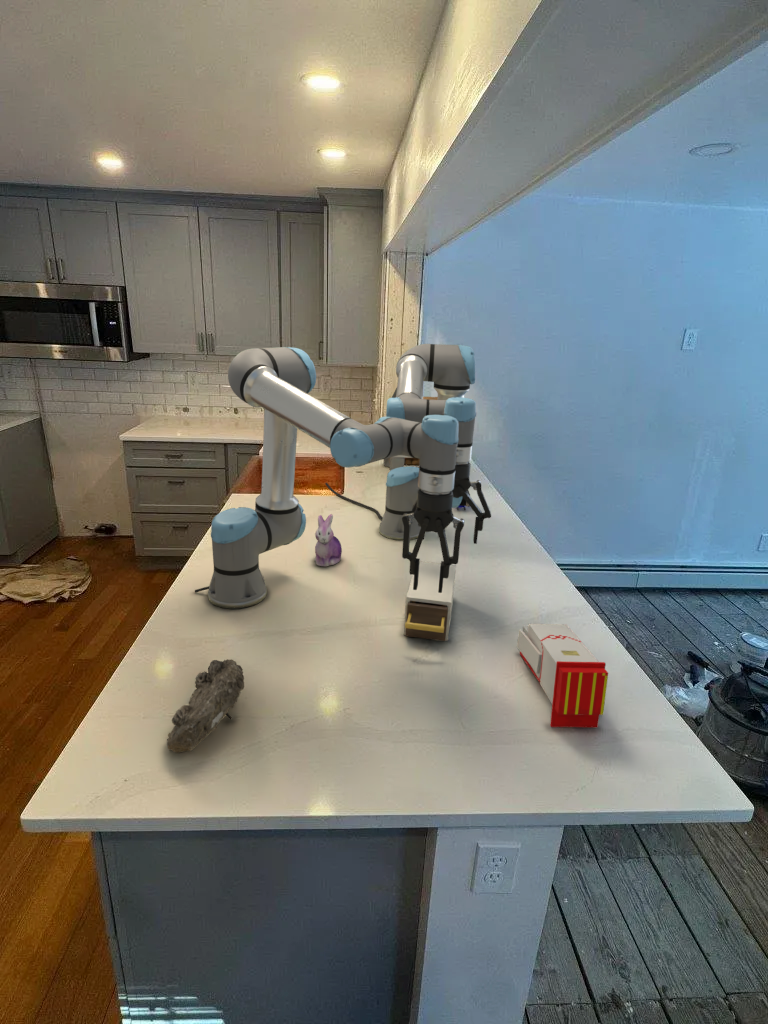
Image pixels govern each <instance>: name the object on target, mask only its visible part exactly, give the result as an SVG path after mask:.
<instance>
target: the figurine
mask: <svg viewBox="0 0 768 1024" xmlns="http://www.w3.org/2000/svg"><path fill="white" fill-rule="evenodd" d="M333 520H334V514H332V513H330V514H329V515H328V516H327V518H326V519H324V517H323V515H322V514H319V515H318V516H317V529H316V531H315V534H314V536H315V537H314V538H315V539H316V543H315V546H314V553H315V558H314V561H315V565H316V566H319V567H320V566H321V567H328V566H334V565H336V564H338V563H340V562H341V559H342V553H343V549H342V544H341V542H340V540H339V538H337V537H336V536H335V535H334V531H333V529H332V523H333Z"/></svg>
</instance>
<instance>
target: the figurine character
mask: <svg viewBox="0 0 768 1024" xmlns="http://www.w3.org/2000/svg"><path fill="white" fill-rule="evenodd" d="M467 492H468V494H469V495H470V496H471V493H470V491H469V489H468V490H467ZM466 507H468V508H471V507H470V506H469V504H468V503H467V502H466V501H465V500H464V498H463V497H462V501H461V503H460V505H459V506H458V507H456V508H455V509H456V510H457V511H459V510H460V509H463V511H465V512H466V511H467V508H466Z"/></svg>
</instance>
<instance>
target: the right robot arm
mask: <svg viewBox="0 0 768 1024" xmlns="http://www.w3.org/2000/svg"><path fill="white" fill-rule="evenodd" d="M395 374H396V378H397V385H396V388H397V392H396V398H392V397H389V398H388V399H387V400H386V411H385V417H398V418H400V419H404V420H409V421H414V422H419V423H422V420H423V418H424V417H425V416H427V415H446V416H451V417H454V418H455V419H457V421H458V424H459V426H458V438H459V442H458V445H457V454H456V463H455V480H454V489H453V490H452V492H453V502H452V509H457V508H456V507H458V506H459V505H460V503H461V501H462V497H463V498H464V500H465V501H466V502H467V503H468V504H469V506H470V507H469V508H470V509H471V510H472V511H473V512H474V514H475V515H476V516H475V517H474V519H475V520H474V528H473V539H472V541H473V544H474V545H477V544H478V534H479V532H482V531H483V530H484V529H483V528H484V521H485V520H486V519H490V518H492V513H491V510H490V507H489V505H488V503H487V500H486V498H485V495H484V493H483V490H482V481H481V480H479V479H477V480H476V481H471V480H470V477H471V467H472V466H471V465H472V464H471V463H470V462H471V461H472V456H473V455H472V454H473V444H474V443H473V440H474V434H475V433H474V431H475V424H476V423H475V422H476V417H477V402H476V401H475V400H474V399H471V398H469V397H465V395H466V394H467V393H468V392H469V391H470V388H471V385H474V384H475V383H476V357H475V351H474V349H473V347H471V346H469V345H463V344H462V345H461V344H443V343H442V344H441V343H439V344H438V343H421V344H418V345H415V346H412V347H411V348H409V349H407V350H406V351H405V352H404V353H402V354H401V356H400V357H399V359H398V360H397V362H396V367H395ZM424 382H429V383H433V389H434V390H435V391H436V393H437V397H438V398H437V400H429V399H423V397H424ZM418 479H419V466H418V467H417V466H407V465H406V466H404V467H399V468H395V469H393V470H391V471H390V470H389V471H388V473H387V475H386V482H385V487H386V488H385V489H386V490H385V504H384V505H385V507H384V508H385V509H384V513H383V515H382V516H381V514H380V512H379V510H377V509H375V508H374V507H372V506H369V505H367V504H364V503H361V502H358V501H357V500H354V499H352V498H349V497H346V496H345V495H342V494H340V493H339V492H337V491H335V490H334V489H333V488H332V487H331V486H330V484H329V483H328V482H325V483H324V484H325V486H326V487H327V489H328V490H329V491H330V492H332V493H333V494H334V495H336V496H337V497H339V498H341V499H343V500H345V501H348V502H350V503H352V504H354V505H358V506H360V507H363V508H365V509H368V510H370V511H371V512H372V511H373V512H374V513H375V514H376V515H377V517H378V519H379V520H381V522H379V527H378V533H379V534H380V535H381V536H382V537H385V538H387V539H389V540H395V541H403V536H404V525H403V522H402V517H403V515H404V513H408V514H411V513H414V512H415V510H416V508H417V494H418V490H419V489H420V488H419V487H418ZM470 488H472V489H473V491H476V494H477V497H478V499H479V501H480V504H481V507H482V510H483V511H484V512H483V511H482V510H481V508H479V506H478V505H477V504H476V502H475V500H474V499H473V498H472V497H471V494H470V495H469V494H468V492H467V490H468V491H469V490H470ZM458 508H459V507H458ZM420 529H421V527H420V525H419V524H418V522H417V521H416V519H415V518H414V519H413V522H412V524H411V531H410V541H411V540H415V539H417V538H418V535H419V532H420ZM425 535H426V534H425ZM425 535H424V538H423V541H424V540H425V537H426V536H425Z"/></svg>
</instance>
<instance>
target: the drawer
mask: <svg viewBox="0 0 768 1024" xmlns="http://www.w3.org/2000/svg"><path fill="white" fill-rule="evenodd" d="M447 616H448V607H447V605H440V604H432V603H424V602H416V601H412V603H409V602H408V604H407V618H406V623H405V622H404V624H405V628H406V634H405V635H404V636H405V637H410V638H419V639H427V640H433V641H441V642H446V640H445V638H446V627H447Z"/></svg>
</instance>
